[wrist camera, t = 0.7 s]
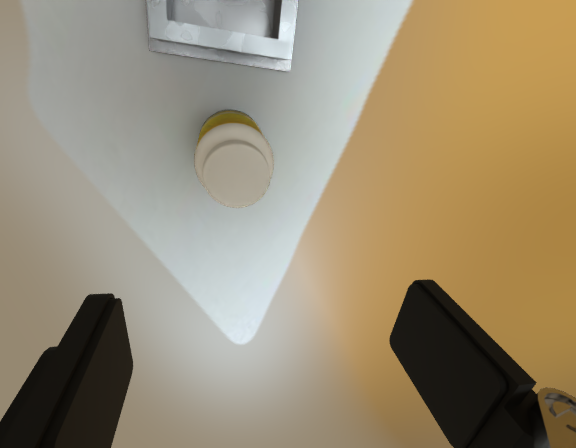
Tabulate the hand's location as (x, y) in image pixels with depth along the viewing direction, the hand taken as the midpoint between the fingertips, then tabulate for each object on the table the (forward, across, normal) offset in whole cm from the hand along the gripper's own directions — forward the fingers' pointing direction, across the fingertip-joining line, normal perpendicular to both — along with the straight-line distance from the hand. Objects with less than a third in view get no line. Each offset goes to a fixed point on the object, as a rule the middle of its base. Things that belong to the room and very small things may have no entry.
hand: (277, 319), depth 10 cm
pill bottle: (+24, +1, -1) cm, 24 cm away
